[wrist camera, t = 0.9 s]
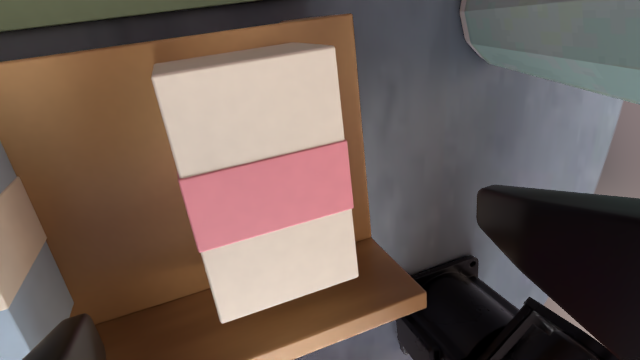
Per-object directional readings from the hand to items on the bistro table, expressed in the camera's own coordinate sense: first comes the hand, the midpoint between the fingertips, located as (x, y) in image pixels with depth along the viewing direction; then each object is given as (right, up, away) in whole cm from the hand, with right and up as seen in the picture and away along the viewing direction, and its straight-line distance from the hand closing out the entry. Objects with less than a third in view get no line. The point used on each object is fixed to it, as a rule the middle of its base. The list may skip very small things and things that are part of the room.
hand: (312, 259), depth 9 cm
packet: (-3, +3, +7) cm, 8 cm away
